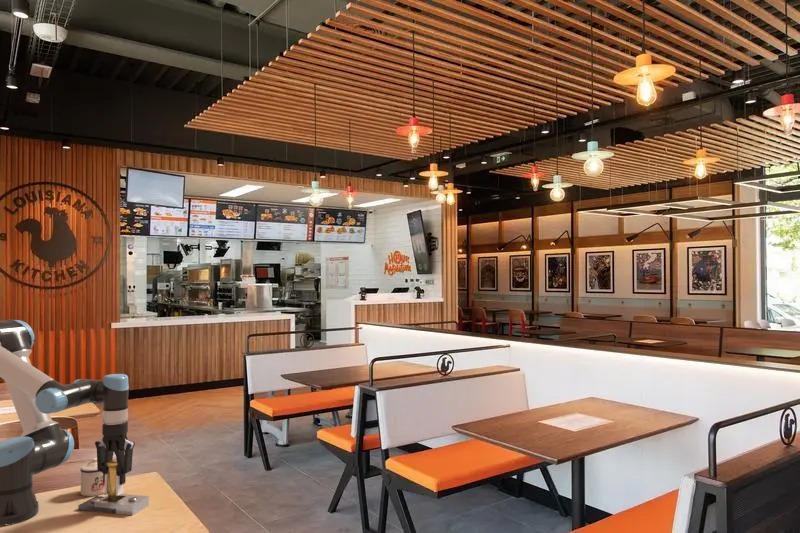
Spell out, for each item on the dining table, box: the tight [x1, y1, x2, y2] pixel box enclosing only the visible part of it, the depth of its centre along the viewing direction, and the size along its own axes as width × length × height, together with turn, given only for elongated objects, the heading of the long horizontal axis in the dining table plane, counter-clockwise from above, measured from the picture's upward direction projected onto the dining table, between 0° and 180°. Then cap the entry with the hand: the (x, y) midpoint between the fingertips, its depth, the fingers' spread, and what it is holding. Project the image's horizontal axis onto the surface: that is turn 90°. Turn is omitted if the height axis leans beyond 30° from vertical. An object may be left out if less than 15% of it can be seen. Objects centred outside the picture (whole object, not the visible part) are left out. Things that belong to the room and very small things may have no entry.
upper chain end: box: [94, 493, 150, 516], centre depth 183 cm, size 14×8×4 cm, turn 78°
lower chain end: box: [77, 495, 116, 514], centre depth 184 cm, size 14×8×2 cm, turn 78°
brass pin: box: [106, 458, 120, 502], centre depth 184 cm, size 5×5×14 cm
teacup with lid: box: [80, 457, 105, 497], centre depth 199 cm, size 12×9×12 cm
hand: (114, 493), depth 184 cm, fingers closed on brass pin, 3 cm apart
